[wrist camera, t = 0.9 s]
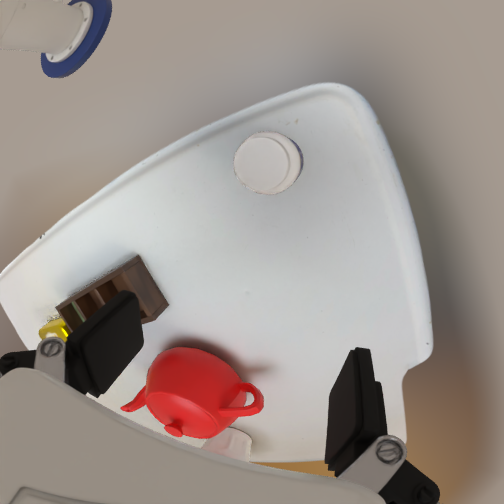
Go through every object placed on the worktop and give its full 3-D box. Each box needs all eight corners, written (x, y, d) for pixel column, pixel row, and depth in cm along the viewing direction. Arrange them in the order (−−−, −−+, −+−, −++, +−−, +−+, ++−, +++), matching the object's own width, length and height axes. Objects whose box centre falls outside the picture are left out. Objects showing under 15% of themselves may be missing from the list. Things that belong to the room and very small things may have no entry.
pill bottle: (311, 175, 26) (309, 186, 18) (264, 193, 28) (241, 212, 20) (291, 127, 25) (279, 116, 17) (244, 147, 27) (212, 146, 19)
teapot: (253, 326, 34) (225, 397, 23) (287, 400, 39) (274, 464, 28) (123, 342, 43) (84, 386, 32) (166, 402, 47) (139, 446, 36)
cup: (266, 452, 47) (254, 494, 37) (213, 446, 50) (197, 483, 40) (255, 424, 43) (240, 473, 33) (195, 416, 46) (174, 459, 36)
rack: (68, 297, 43) (55, 307, 39) (138, 254, 35) (121, 266, 31) (91, 332, 45) (79, 344, 41) (169, 304, 37) (155, 320, 33)
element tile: (73, 312, 44) (58, 325, 40) (114, 372, 48) (101, 386, 43) (47, 321, 49) (34, 332, 45) (81, 372, 53) (70, 383, 49)
